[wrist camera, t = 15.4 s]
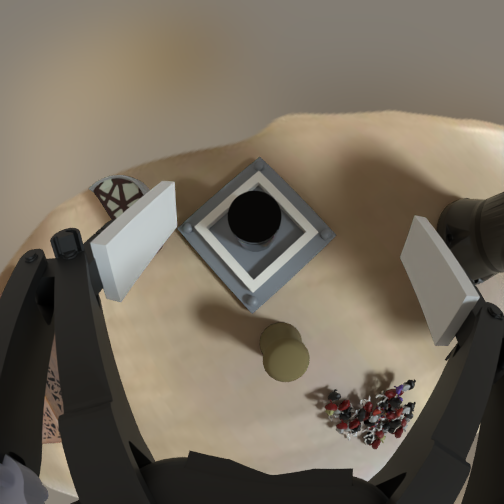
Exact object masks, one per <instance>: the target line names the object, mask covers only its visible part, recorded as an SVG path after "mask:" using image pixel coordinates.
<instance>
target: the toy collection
mask: <svg viewBox="0 0 504 504" xmlns="http://www.w3.org/2000/svg"><path fill="white" fill-rule="evenodd" d="M415 382H416V381H415V379H414V381H413V380H408V381H407V382H406V383H405V382H404V384H403V385H400V386H398V387H396V386H394V387H396V389H390V390H387V391H386V392H385V395H383V393H384V391H382V392H381V394H382V395H381V394H378V395H377V396H376V398H378V397H379V396H380V395H381V396H380V397H382V396H384V398H383V399H382V401H380V402H378V403H377V404H378V406H379V408H378V406H376V409H375V410H374V411H373V410H372V406H373V404H372V403H371V402H370V396H369V397H368V400H366V399H363V400H365V401H366V402H367V403H366V404H365V406H363V403H362V399H361V400H360V404H361V405H362V406H361V409H359V412H358V413H357V409H356V412H355V414H354V415H353V416H352V418H353V417H354V416H355V415H356V414H357V416H356V417H355V418H356V419H354V420H351V421H352V422H350V421H348V425H347V424H346V423H344V422H343V421H342V420H348V419H349V418H350V417H351V412H353V413H354V411H355V410H354V411H352V409H354V407H351V405H350V401H349V399H348V400H344V401H343V402H342V403H340V404H339V406H338V407H337V405H336V404H333V403H332V401H333V400H339V399H340V398H341V395H340V394H339V393H337V392H336V391H337V390H336V389H335V390H334V392H331V393H330V394H329V397H328V400H330V402H331V403H330V404H328V405H326V406H325V408H326V411H325V412H326V413H327V414H328V415H329V417H328V418H329V419H331V422H332V418H331V417H330V416H331V415H334V417H336V416H337V418H339V419H340V420H341V421H342V423H339V424H338V425H336V427H337V428H336V431H338V432H339V434H340V433H343V431H350V430H351V432H352V433H350V434H352V436H353V437H354V435H355V437H356V436H357V432H358V430H359V431H360V428H361V423H360V422H361V421H364V424H365V425H366V426H367V427H368V429H371V428H370V427H374V426H375V425H377V424H379V422H380V421H378V415H377V414H381V413H383V412H381V409H380V408H382V410H386V413H384V415H381V417H379V418H381V420H385V418H387V419H389V422H386V423H384V424H383V425H381V426H380V429H379V428H375V427H376V426H375V427H374V428H375V429H377V430H378V431H376V432H375V431H374V428H373V430H372V433H371V430H367V429H364V430H363V431H362V433H363V432H365V431H370V432H368V433H367V434H366V435H365V436H363V438H364V440H365V441H364V443H366V444H365V445H367V444H368V445H372V448H373V449H377V448H378V446H379V445H380V442H381V441H382V443H384V442H383V440H384V439H385V438H386V436H384V435H385V434H386V433H387V431H388V432H389V433H391V434H395V437H396V438H400V437H401V435H402V433H403V430H405V429H406V428H407V426H408V425H407V423H408V422H409V421H410V420H409V419H412V418H413V414H412V411H414V410H413V409H414V407H415V404H416V403H415V402H414V404H413V403H411V402H409V403H408V404H407V405H406V404H405V405H404V408H403V407H402V408H399V406H400V404H401V403H402V401H403V399H402V398H401V397H399V396H401V395H402V394H403V393H404V391H407V390H411V389H413V388H414V386H415ZM396 394H398V397H397V398H395V397H396ZM379 403H381V404H380V405H379ZM377 408H378V409H377ZM365 410H366V411H365ZM372 411H373V412H372ZM370 412H372V414H373V415H372V416H371V417H369V416H370ZM333 413H335V414H336V415H335V414H333ZM339 413H341V414H340V417H339V415H338V414H339ZM404 413H405V414H404ZM385 414H386V415H385ZM403 414H404V416H405V417H404V418H403V419H402V417H403ZM382 416H383V417H382ZM385 416H386V417H385ZM396 416H398V418H396ZM357 417H358V418H357ZM400 417H401V418H400ZM399 418H400V420H399ZM391 419H392V420H391ZM379 420H380V419H379ZM400 425H401V426H400ZM399 426H400V427H399ZM397 427H399V428H398V429H396V428H397ZM395 429H396V431H395V432H394V430H395ZM379 430H380V431H379ZM393 432H394V433H393ZM405 432H406V430H405ZM353 433H355V434H353ZM373 433H374V434H373ZM374 435H376V436H377V439H376V440H374ZM347 438H349V439H348V440H350V436H349V433H348V434H347ZM372 441H373V443H371V442H372ZM370 443H371V444H370Z"/></svg>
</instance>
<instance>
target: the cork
mask: <svg viewBox="0 0 504 504" xmlns="http://www.w3.org/2000/svg"><path fill="white" fill-rule="evenodd" d="M260 348H261V351H262V353H263V365H264V368H265V371H266V372H267V373H268V375H269V376H271V377H272V378H273V379H275V380H277V381H281V382H290V381H294V380H296V379H298V378H299V377H301V376H302V375H303V374H304V373H305V371H306V370H307V367H308V365H309V353H308V350H307V348H306V347H305V345H304V344H303V343H302V339H301V336H300V333H299V332H298V330H297V329H296V328H295V327H294V326H292V325H291V324H287V323H275V324H272V325H270V326H269V327H267V328H266V329H265V331H264V332H263V333H262V335H261V338H260Z"/></svg>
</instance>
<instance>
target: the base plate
mask: <svg viewBox="0 0 504 504" xmlns="http://www.w3.org/2000/svg"><path fill="white" fill-rule="evenodd" d="M248 191H262V192H265V193H267V194H269V195H270V196H272V197H273V198H274V199H275V200H276V201H277V203H278V204H279V207H280V209H281V215H282V218H281V224H280V228H279V230H278V233H277V236H276V239H275V241H274V243H273V244H272V245H271V246H270V247H269V248H267V249H266V250H263V251H259V252H253V251H249V250H246V249H245V248H243V247H242V246H241V245H240V244H239V243H238V241H237V239H236V237H235V236H234V234H233V233H232V231H231V229H230V227H229V224H228V210H229V207H230V205H231V203H232V202H233V200H234V199H235V198H236V197H238V196H239V195H240V194H242V193H244V192H248ZM177 229H178V230H179V231H180V232H181V233H182V235H183V236H184V237H185V238H186V239H187V240H188V242H189V243H190V244H191V245H192V246H193V248H194V249H195V250H196V251H197V252H198V253H199V254H200V256H201V257H202V258H203V259H204V260H205V261H206V263H207V264H208V265H209V266H210V267H211V268H212V269H213V271H214V272H215V273H216V274H217V275H218V276H219V277H220V278H221V280H222V281H223V282H224V283H225V284H226V285H227V286H228V287H229V289H230V290H231V291H232V292H233V293H234V294H235V295H236V296H237V298H238V299H239V300H240V301H241V302H242V303H243V304H244V305H245V306H246V307H247V309H248V310H249V311H250V312H251V313H252V314H253V313H254V312H255V311H256V310H257V309H258V308H259V307H260V306H261V305H263V304H264V303H265V302H266V301H267V300H268V299H269V298H270V297H271V296H273V295H274V294H275V293H276V292H277V291H278V290H279V289H280V288H281V287H282V286H284V285H285V284H286V283H287V282H288V281H289V280H290V279H291V278H292V277H293V276H294V275H295V274H297V273H298V272H299V271H300V270H301V269H302V268H303V267H304V266H305V265H306V264H307V263H308V262H309V261H310V260H311V259H312V258H314V257H315V256H316V255H317V254H318V253H319V252H320V251H321V250H322V249H323V248H324V247H325V246H326V245H327V244H328V243H329V242H330V241H331V240H332V239H333V238H334V237H335V236H336V234H335V233H334V232H333V231H332V230H331V229H330V228H329V227H328V226H327V224H326V223H325V222H324V221H323V220H322V219H321V218H320V217H319V216H318V215H317V214H316V213H315V212H314V211H313V210H312V209H311V207H310V206H309V205H308V204H307V203H306V202H305V201H304V200H303V199H302V198H301V197H300V196H299V195H298V194H297V193H296V192H295V191H294V190H293V189H292V188H291V187H290V186H289V185H288V184H287V183H286V182H285V181H284V180H283V179H282V178H281V177H280V176H279V175H278V174H277V173H276V172H275V171H274V170H273V169H272V168H271V167H270V166H269V165H268V164H267V163H266V162H265V161H264V160H263V159H262V158H261V157H259V158H258V159H257V160H255V161H254V162H253V163H252V164H250V165H249V166H248V167H247V168H246V169H244V170H243V171H242V172H241V173H240V174H238V175H237V176H236V177H235V178H234V179H232V180H231V181H230V182H229V183H228V184H227V185H225V186H224V187H223V188H222V189H221V190H220V191H218V192H217V193H216V194H215V195H214V196H213V197H212V198H210V199H209V200H208V201H207V202H206V203H205V204H204V205H203V206H201V207H200V208H199V209H198V210H197V211H196V212H195V213H194V214H192V215H191V216H190V217H189V218H188V219H187V220H186V221H185V222H184V223H183V224H182V225H180V226H179V227H178V228H177Z"/></svg>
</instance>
